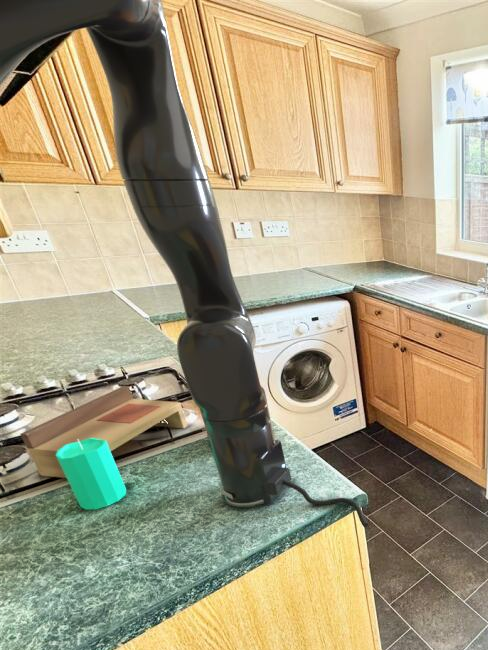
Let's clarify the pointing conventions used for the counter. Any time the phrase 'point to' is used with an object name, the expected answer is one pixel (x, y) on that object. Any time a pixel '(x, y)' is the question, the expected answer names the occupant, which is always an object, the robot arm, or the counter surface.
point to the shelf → (99, 426)
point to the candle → (91, 473)
